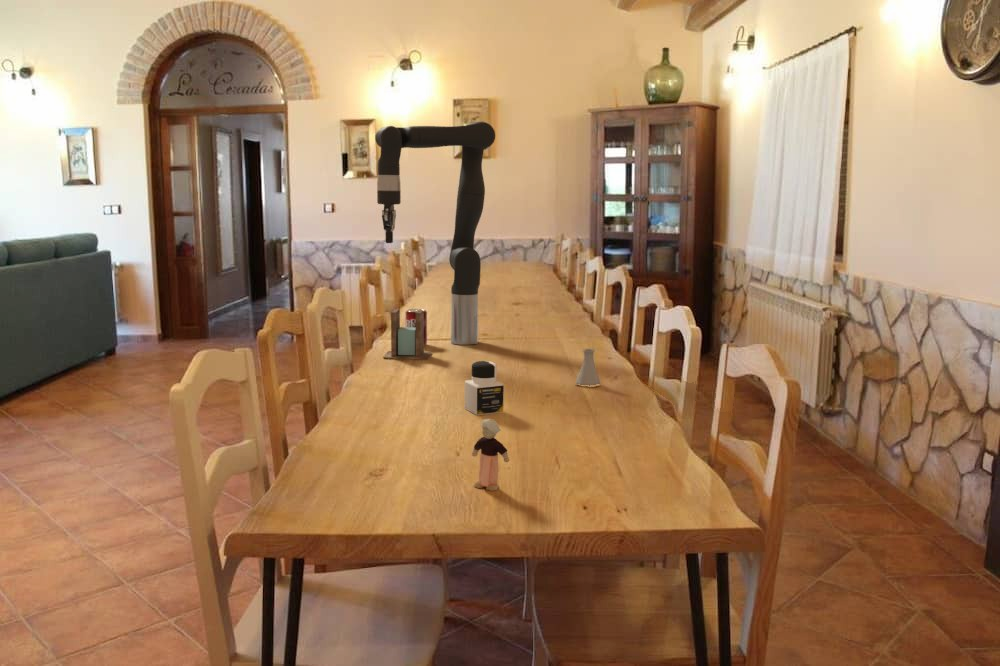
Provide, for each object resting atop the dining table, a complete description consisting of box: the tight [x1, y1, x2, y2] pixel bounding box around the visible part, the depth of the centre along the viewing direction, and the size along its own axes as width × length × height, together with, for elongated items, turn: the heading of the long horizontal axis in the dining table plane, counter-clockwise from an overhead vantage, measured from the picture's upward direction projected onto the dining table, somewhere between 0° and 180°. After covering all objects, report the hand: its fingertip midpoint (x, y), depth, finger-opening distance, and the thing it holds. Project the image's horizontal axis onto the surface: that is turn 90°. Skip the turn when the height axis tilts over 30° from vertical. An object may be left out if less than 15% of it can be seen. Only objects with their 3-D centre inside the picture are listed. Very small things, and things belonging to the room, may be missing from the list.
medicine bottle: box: [464, 360, 505, 417], centre depth 202 cm, size 7×7×12 cm
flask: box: [575, 348, 601, 386], centre depth 231 cm, size 7×7×10 cm
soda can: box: [404, 308, 428, 347], centre depth 287 cm, size 7×7×12 cm
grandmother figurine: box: [471, 418, 510, 492], centre depth 150 cm, size 8×4×13 cm, turn 69°
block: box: [398, 326, 416, 355], centre depth 268 cm, size 5×5×8 cm
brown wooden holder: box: [382, 308, 432, 361], centre depth 267 cm, size 14×10×15 cm
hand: (389, 242), depth 277 cm, fingers closed
